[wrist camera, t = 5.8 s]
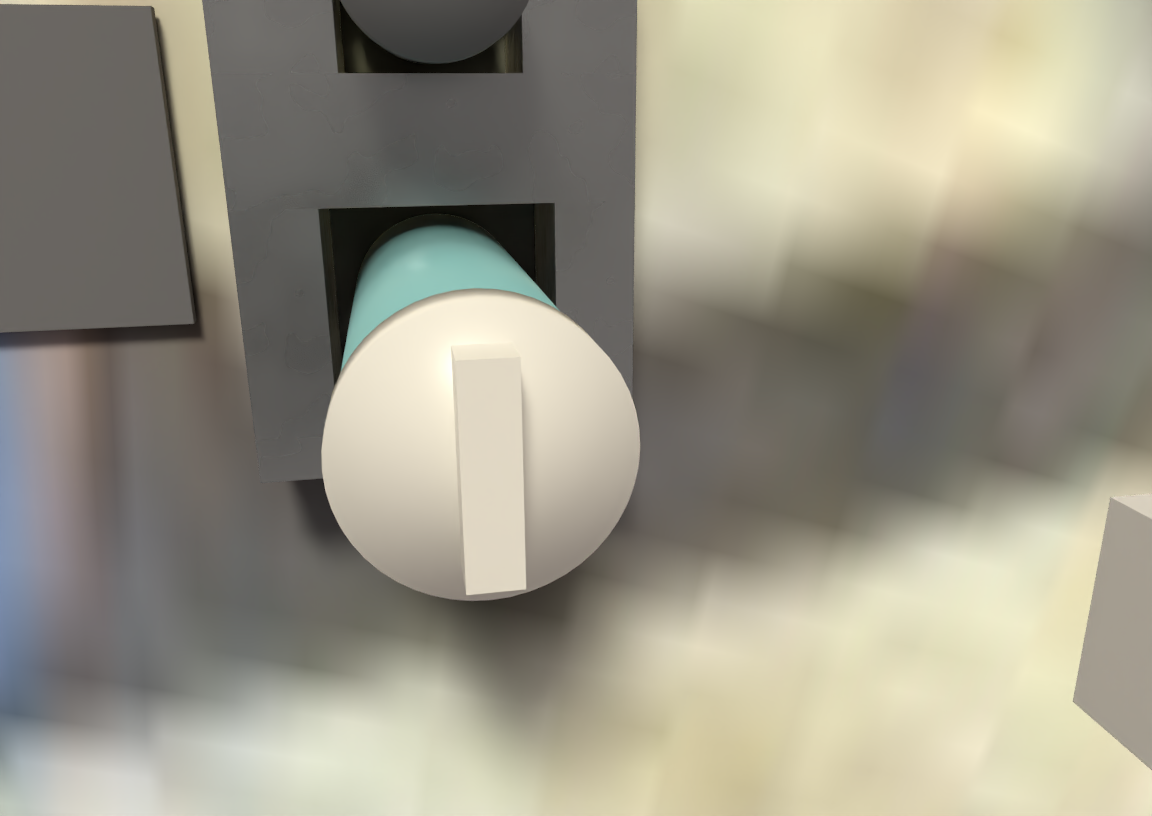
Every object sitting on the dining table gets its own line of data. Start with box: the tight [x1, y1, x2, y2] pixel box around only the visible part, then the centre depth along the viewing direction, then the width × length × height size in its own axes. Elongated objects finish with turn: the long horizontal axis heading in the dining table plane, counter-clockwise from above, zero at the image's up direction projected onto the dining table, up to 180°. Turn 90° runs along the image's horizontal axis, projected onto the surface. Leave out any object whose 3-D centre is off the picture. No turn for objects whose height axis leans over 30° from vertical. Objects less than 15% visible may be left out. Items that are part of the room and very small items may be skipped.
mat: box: [0, 4, 196, 333], centre depth 26 cm, size 9×9×1 cm
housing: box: [202, 0, 637, 483], centre depth 27 cm, size 17×11×4 cm, turn 1°
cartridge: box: [321, 214, 640, 601], centre depth 22 cm, size 5×5×16 cm
